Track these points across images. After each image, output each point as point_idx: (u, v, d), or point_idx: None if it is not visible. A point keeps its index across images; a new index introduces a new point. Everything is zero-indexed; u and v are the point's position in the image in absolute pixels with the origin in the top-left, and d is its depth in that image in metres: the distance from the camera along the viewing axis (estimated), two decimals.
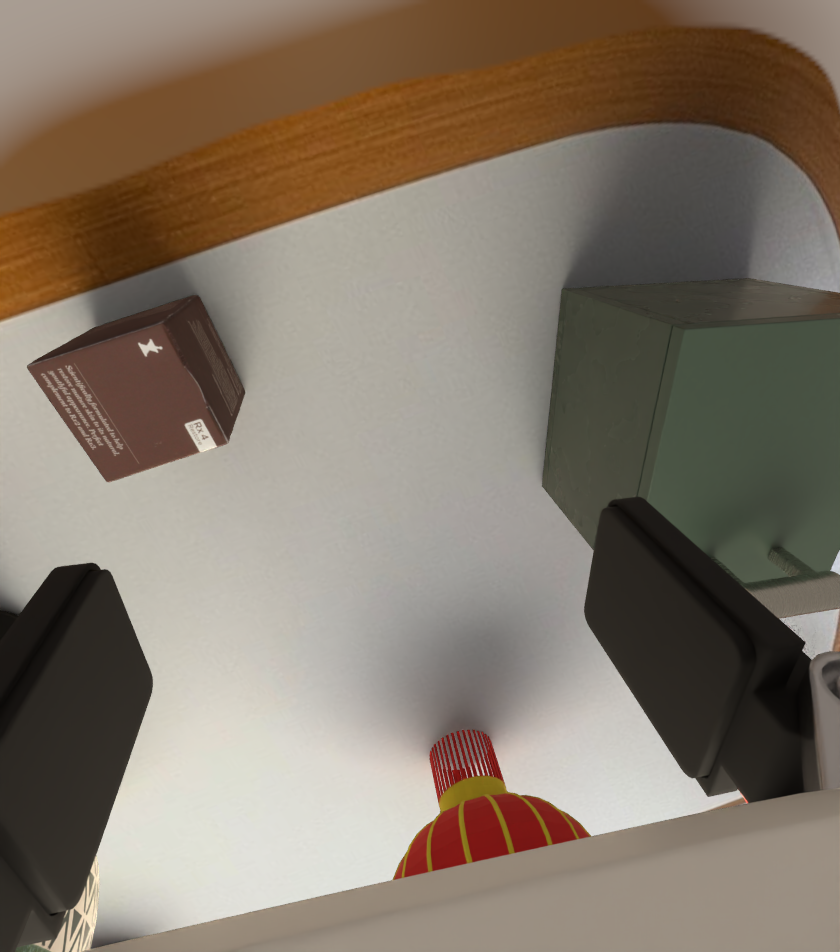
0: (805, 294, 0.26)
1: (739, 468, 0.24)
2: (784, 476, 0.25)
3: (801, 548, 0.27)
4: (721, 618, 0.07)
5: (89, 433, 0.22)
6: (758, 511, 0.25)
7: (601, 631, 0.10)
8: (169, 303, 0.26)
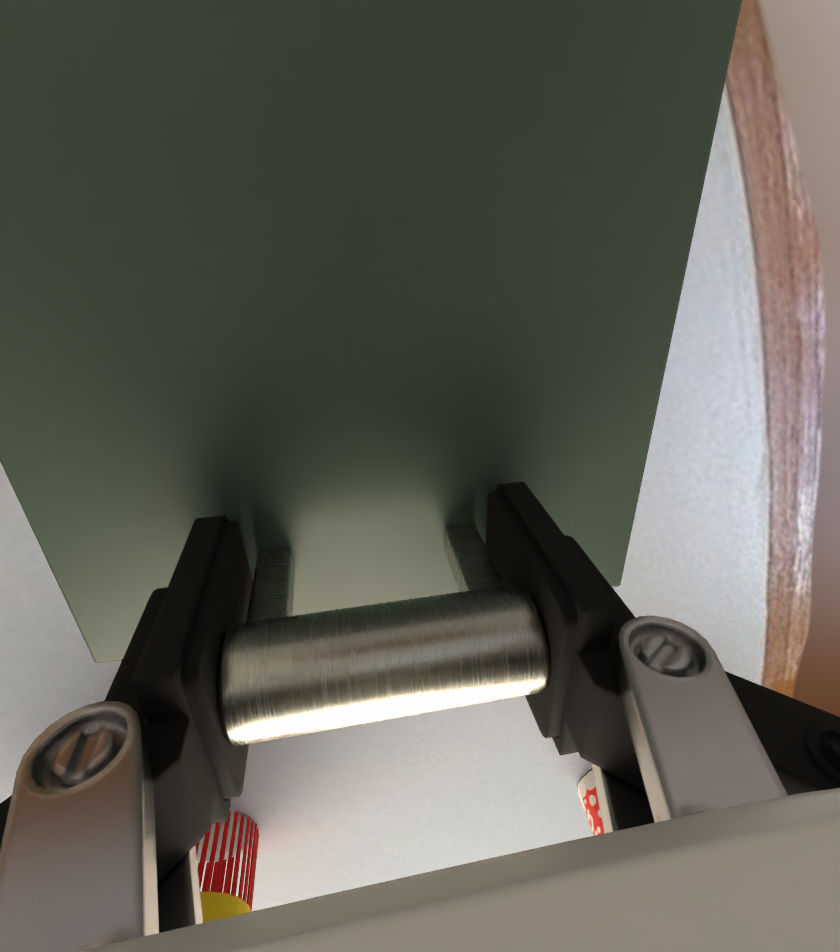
0: None
1: (234, 285, 0.08)
2: (401, 323, 0.09)
3: None
4: (556, 587, 0.08)
5: None
6: (364, 427, 0.10)
7: None
8: None
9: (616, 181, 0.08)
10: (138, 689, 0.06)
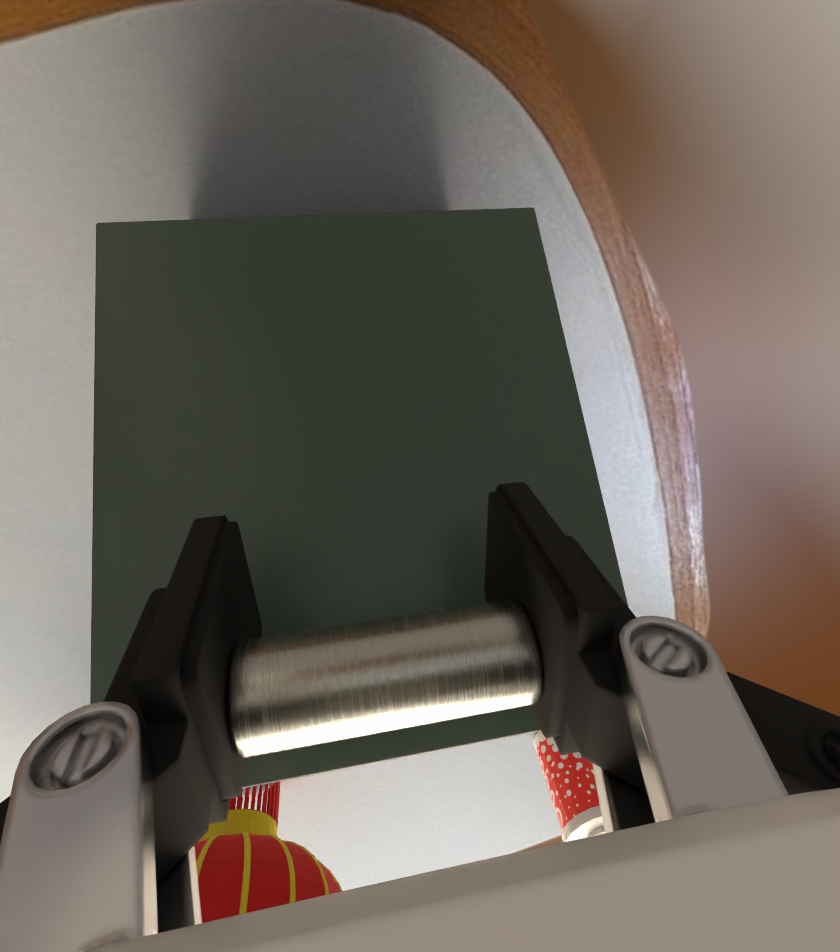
0: None
1: (283, 439, 0.13)
2: (393, 457, 0.13)
3: None
4: (556, 587, 0.08)
5: None
6: (370, 534, 0.12)
7: None
8: None
9: (516, 371, 0.14)
10: (137, 689, 0.06)
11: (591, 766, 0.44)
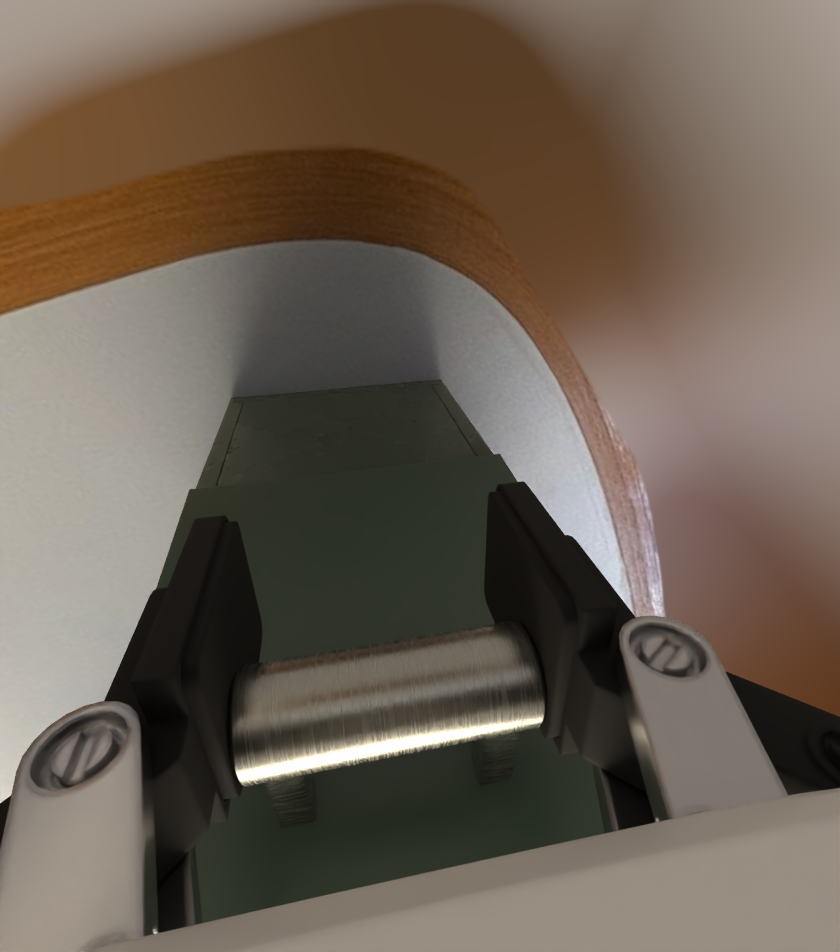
0: (430, 421, 0.26)
1: (306, 600, 0.15)
2: (403, 605, 0.14)
3: None
4: (556, 587, 0.08)
5: None
6: None
7: (493, 609, 0.11)
8: None
9: None
10: (138, 689, 0.06)
11: None
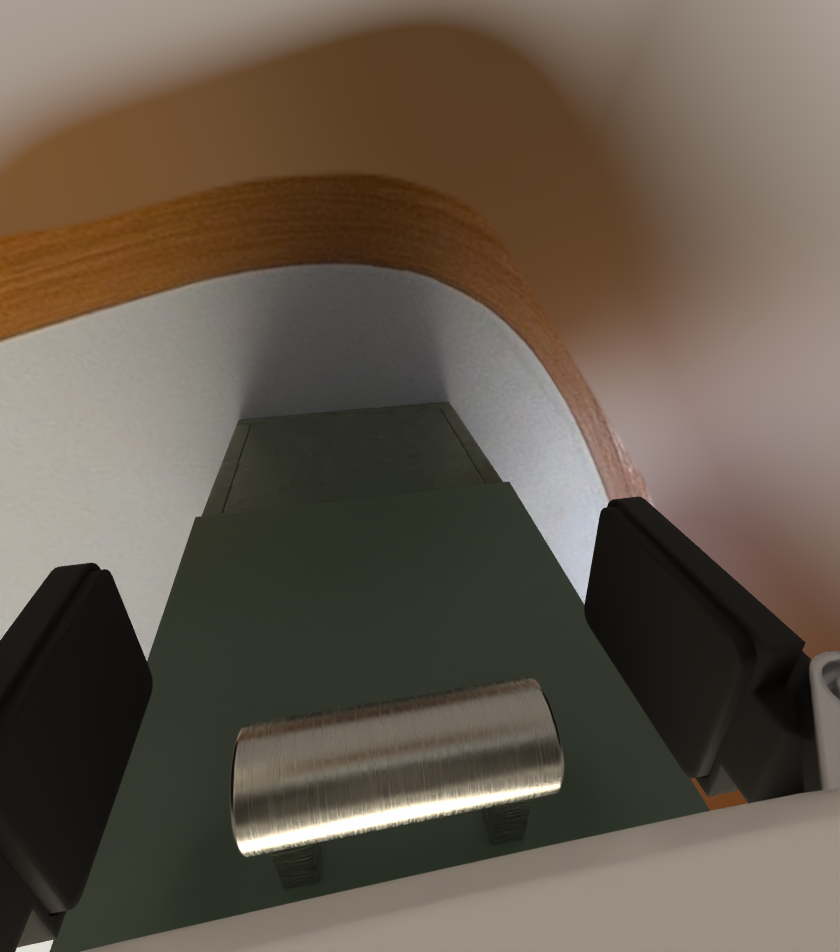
0: (438, 446, 0.25)
1: (313, 637, 0.14)
2: (411, 644, 0.14)
3: (579, 807, 0.10)
4: (721, 618, 0.07)
5: None
6: None
7: (601, 631, 0.10)
8: None
9: (514, 575, 0.16)
10: None
11: None
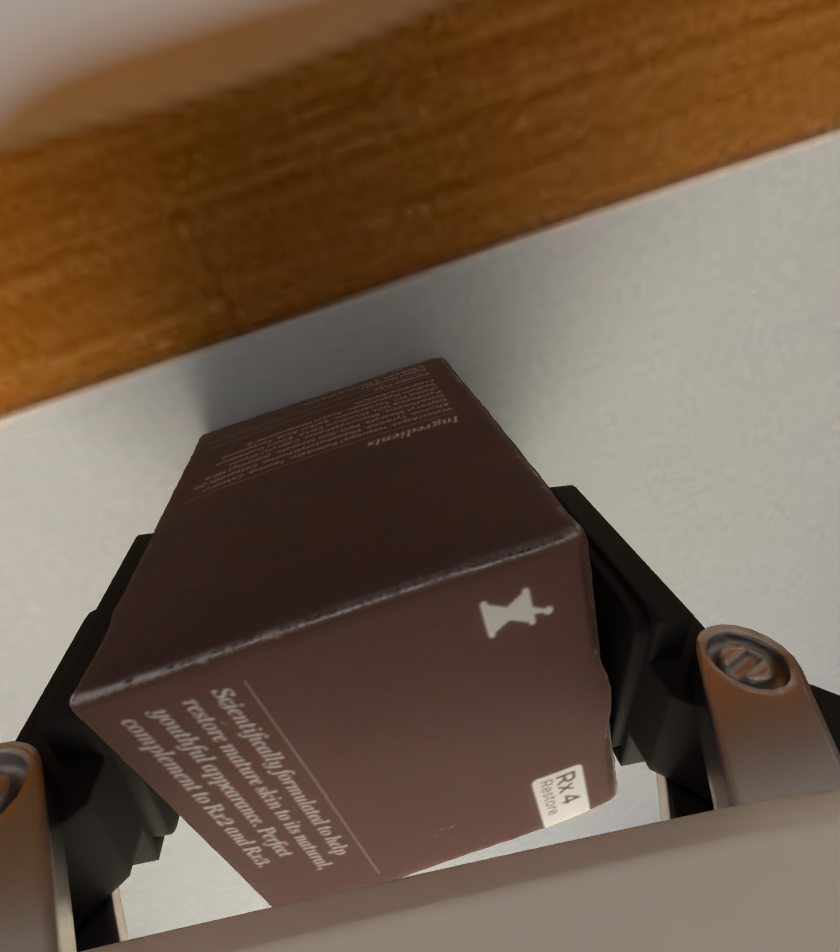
0: None
1: None
2: None
3: None
4: (624, 595, 0.07)
5: (257, 836, 0.07)
6: None
7: None
8: (393, 382, 0.11)
9: None
10: (44, 728, 0.06)
11: None
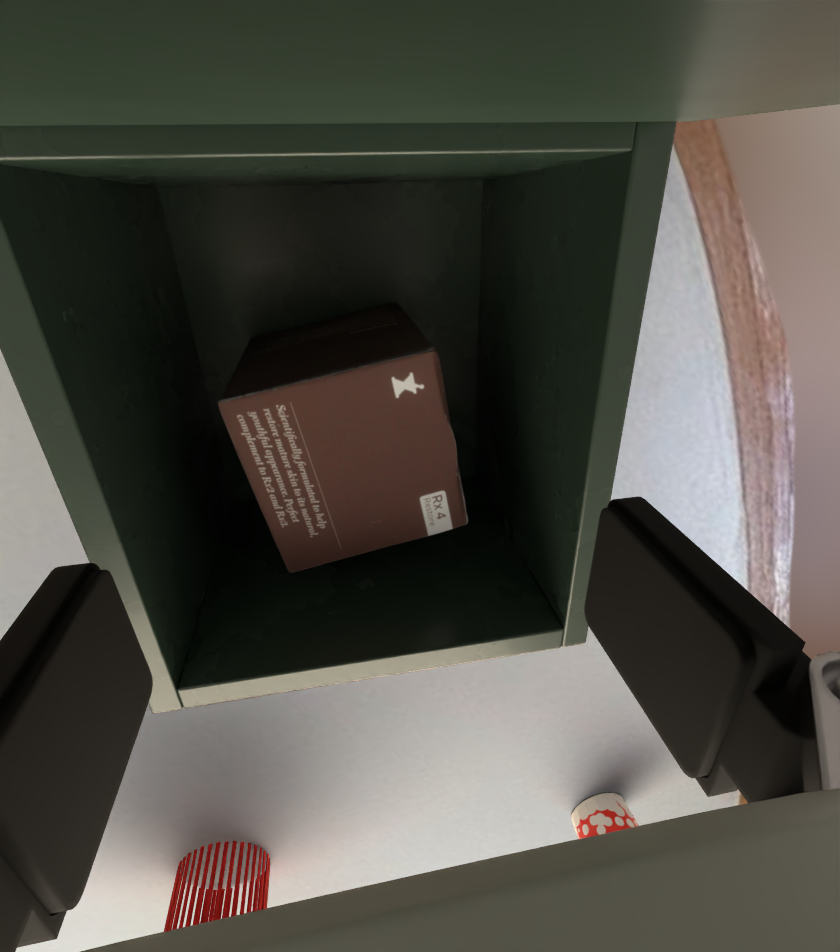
0: None
1: None
2: None
3: None
4: (721, 618, 0.07)
5: (283, 504, 0.14)
6: None
7: (601, 631, 0.10)
8: (367, 312, 0.18)
9: None
10: None
11: None
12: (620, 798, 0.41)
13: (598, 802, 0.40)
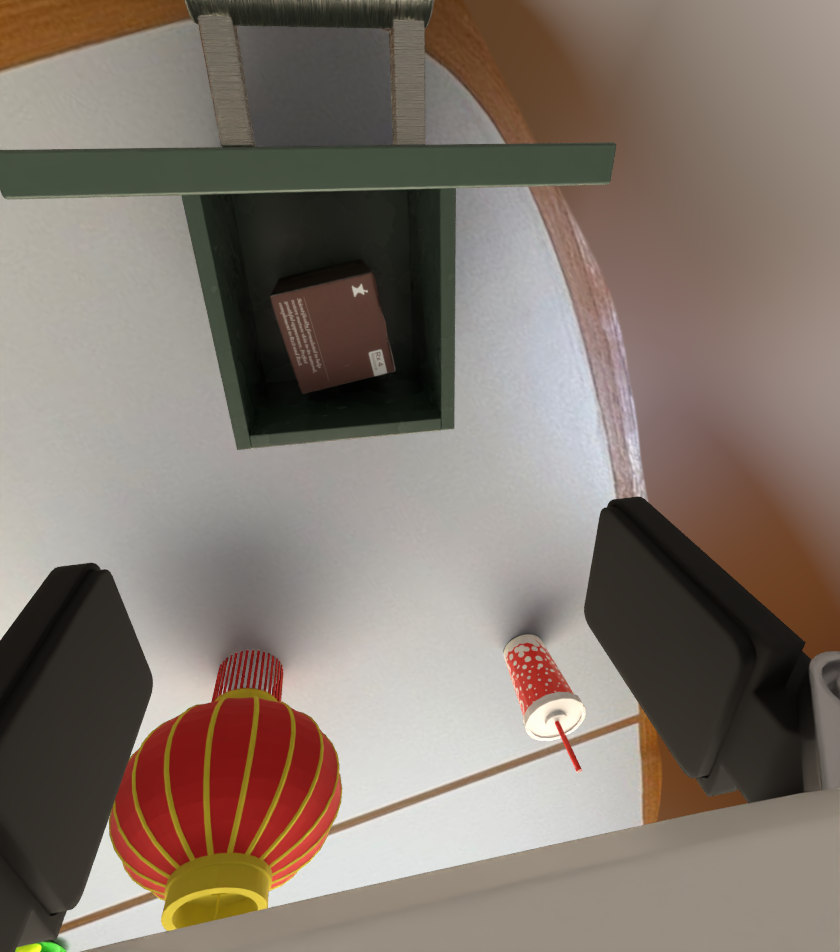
0: None
1: None
2: None
3: None
4: (721, 618, 0.07)
5: (299, 353, 0.29)
6: None
7: (601, 631, 0.10)
8: (344, 263, 0.33)
9: None
10: None
11: (550, 666, 0.51)
12: (538, 638, 0.55)
13: (521, 639, 0.55)
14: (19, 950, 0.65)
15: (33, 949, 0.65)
